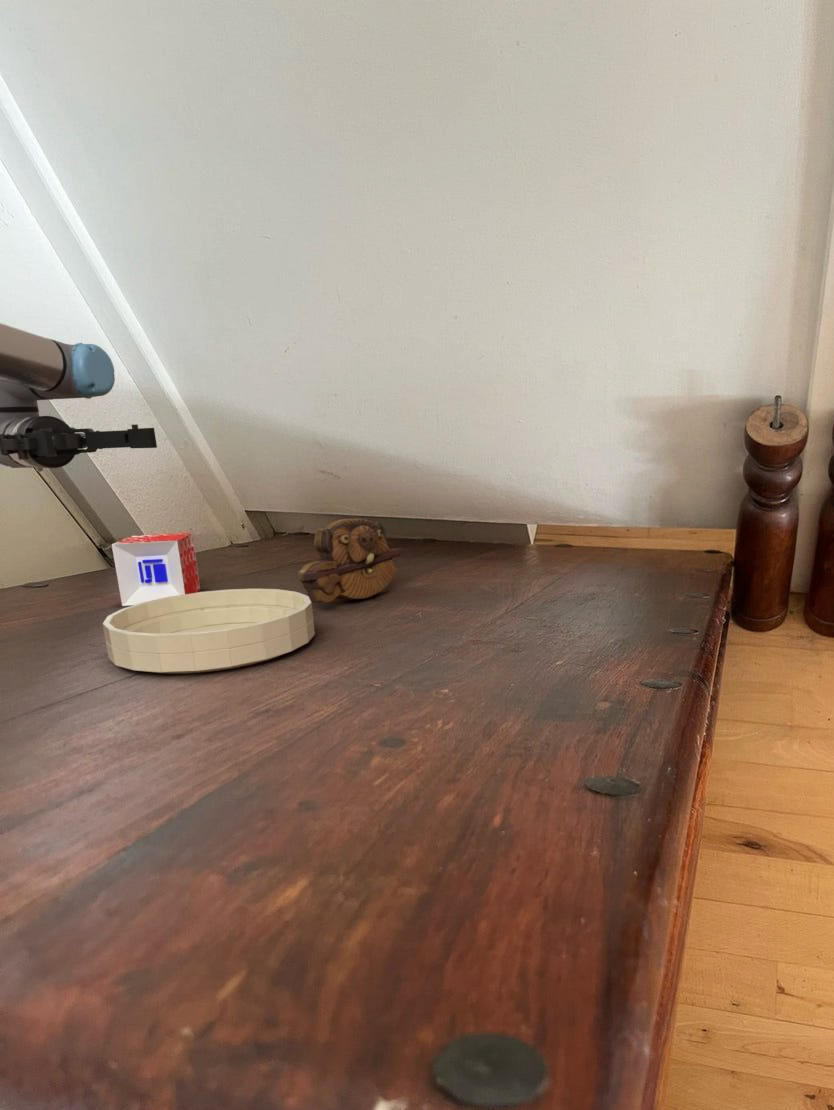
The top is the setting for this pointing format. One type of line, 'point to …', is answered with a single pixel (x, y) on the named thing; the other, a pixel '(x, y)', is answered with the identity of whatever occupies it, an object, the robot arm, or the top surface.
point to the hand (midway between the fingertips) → (104, 440)
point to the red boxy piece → (155, 567)
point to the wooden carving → (349, 562)
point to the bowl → (208, 630)
